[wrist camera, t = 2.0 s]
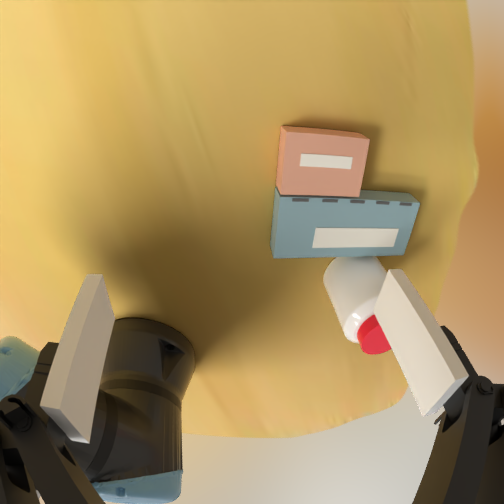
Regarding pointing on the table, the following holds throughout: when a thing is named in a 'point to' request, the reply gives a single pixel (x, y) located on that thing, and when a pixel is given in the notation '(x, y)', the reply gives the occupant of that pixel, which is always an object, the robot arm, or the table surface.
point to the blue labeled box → (342, 224)
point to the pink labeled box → (320, 162)
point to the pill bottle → (357, 299)
